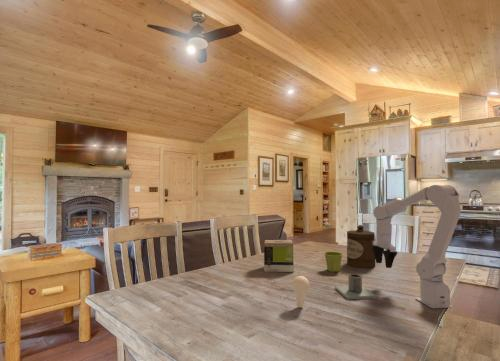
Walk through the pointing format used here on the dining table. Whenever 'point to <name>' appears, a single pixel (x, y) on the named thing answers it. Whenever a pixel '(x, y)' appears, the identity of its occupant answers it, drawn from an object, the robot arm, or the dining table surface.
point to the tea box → (278, 256)
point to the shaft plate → (350, 295)
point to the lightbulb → (300, 289)
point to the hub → (355, 283)
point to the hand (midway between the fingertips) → (383, 265)
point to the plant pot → (333, 261)
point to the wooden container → (360, 248)
